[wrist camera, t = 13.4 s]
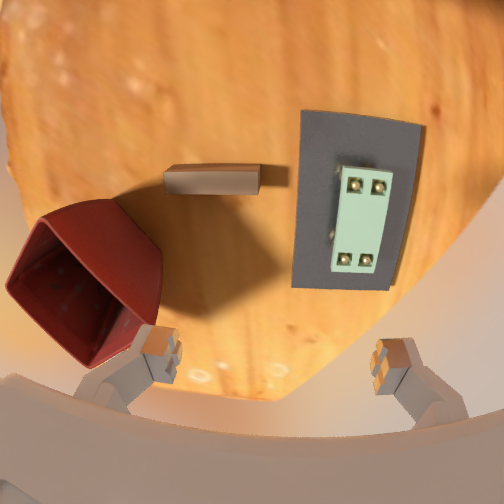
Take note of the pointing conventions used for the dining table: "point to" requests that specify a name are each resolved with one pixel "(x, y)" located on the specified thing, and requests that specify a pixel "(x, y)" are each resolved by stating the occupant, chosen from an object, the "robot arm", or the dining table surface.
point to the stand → (213, 179)
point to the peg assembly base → (329, 185)
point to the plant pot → (88, 279)
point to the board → (360, 219)
